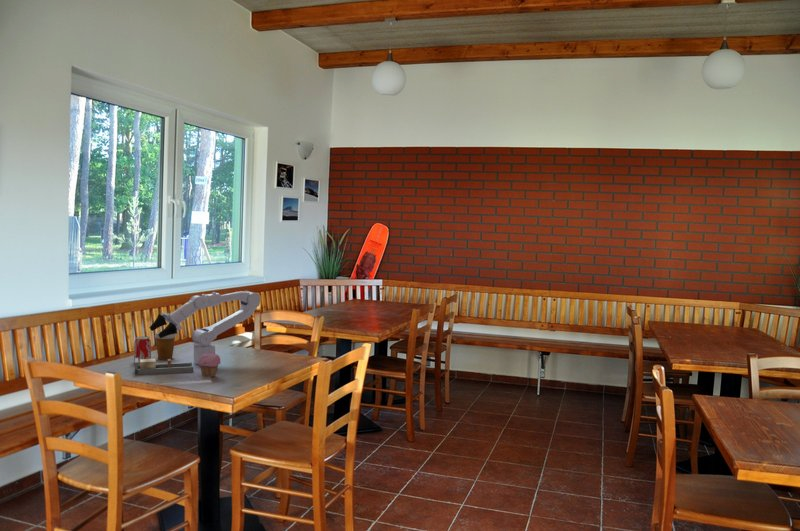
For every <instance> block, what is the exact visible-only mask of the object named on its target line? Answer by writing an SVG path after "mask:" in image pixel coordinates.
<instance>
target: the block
mask: <svg viewBox="0 0 800 531" xmlns="http://www.w3.org/2000/svg"><path fill="white" fill-rule="evenodd" d="M167 363H168V366H157V367H156V364H157V362H156V358H151V359H140V364H139V365H140V369H149V368H171V363H172V358H171V359H167Z"/></svg>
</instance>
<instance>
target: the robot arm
mask: <svg viewBox="0 0 800 531" xmlns="http://www.w3.org/2000/svg"><path fill="white" fill-rule="evenodd" d="M261 298H262V297H261V295H260V294H259V293H258V292H252V291H250V290H243V291H242V290H240V291H235V292H230V293H224V294H220V293H219V292H215V291H213V292H211V293H207V294H206V293H202V294H201V295H192V296H191V297H190V298H189V300H188V301H186V303H184V304H182V305H181V306H180V307H179V308H177V309H175V310H174V311H172V312H171V313H169V312H167V313H166V312H165V311H163V312H162V313H158V314H157V317H156V319H155V320H154V322H152V324H151V325H150V326H149V329H150V331H151V332H153V331H155V330H157V329H158V328H160V327H163V326H165V328H163V329H162V330H161V331H159V332H160V333H159V334H158V335H159V337H160V338H163V337H165V336H168V335H171V334H176V335H177V334H178V332H179V331H180V330H182V329H183V327H182V325H181V323H183V322H184V321H185V320H186V319H188V318H190V317H191V316H192V315H193V314H194V313H196V312H198V311H199V310H204V309H206V308H210V307H211V308H212V307H217V306H220V305H221V304H222V303H225V302H232V301H240V302H239V304H240V306H239V307H240V308H239V310H238V311H237V310H236V312H234V313H231V314H230V315H228V316H226V317H224V318H223V319H220V320H219V321H217V322H215V323H214V324H211V325H209V326H204V327H202V328H197V329H195V330H193V332H192V334H191V339H192V341H193V342H194V343H193V364H195V365H199V359H200V357H202V355H203V354H205V353H213V354H216V345H215V344H212V342H213V341H214V340H216V339H217V336H219V335H220V334H222V333H224V332H226V331H228V330H229V329H231V328H233V327H235V326H236V325H238V324H240V323H242V322H243V321H245V320H247V319H249V318H251V316H252V315H253V314H254V312H255V310H256V309H257V308H258V307H260V304H261ZM167 322H168V323H167ZM166 325H167V326H166Z"/></svg>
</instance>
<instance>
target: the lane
mask: <svg viewBox="0 0 800 531" xmlns="http://www.w3.org/2000/svg"><path fill="white" fill-rule="evenodd" d="M157 366H168V362H167V363H156V367H157ZM193 372H194V366H193V362H171V368H149V369H140V364H139V363H138V358H135V363H134V375H135V376H136V375H139V376H140V375H156V374H157V375H159V374H175V373H193Z"/></svg>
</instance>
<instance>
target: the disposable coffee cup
mask: <svg viewBox="0 0 800 531" xmlns="http://www.w3.org/2000/svg"><path fill="white" fill-rule="evenodd" d="M160 332H161V331H158V332H157V331H156V332H155V335H154V338H155V342H156V352H157V353H156V354H157V358H158V360H164V359H165V360H168V359H171V360H172V359H173V356H174V350H175V349H174V348H175V341H176V337H177V333H176V334H171V335H168V336H165V337H163V338H160V337H159V335H158V334H159V333H160Z"/></svg>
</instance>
